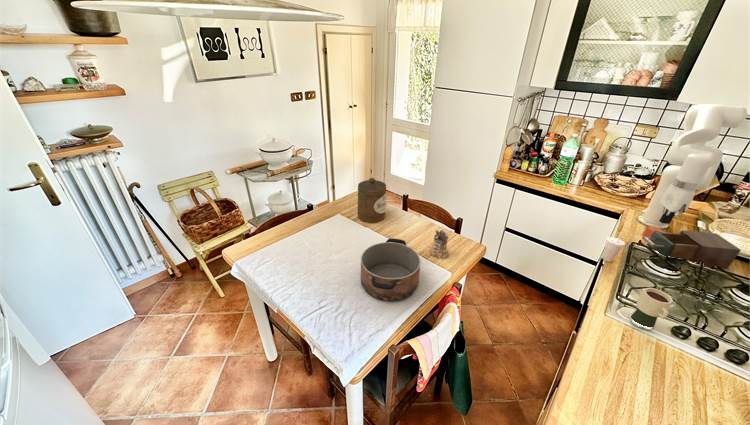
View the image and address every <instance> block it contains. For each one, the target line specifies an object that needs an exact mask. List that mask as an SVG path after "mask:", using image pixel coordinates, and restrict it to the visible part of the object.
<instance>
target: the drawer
mask: <svg viewBox="0 0 750 425" xmlns="http://www.w3.org/2000/svg"><path fill="white" fill-rule="evenodd" d="M641 238H642V240H644V242H646V245H647V246H648V248H650V247H651V248H652V249H654V250H657V251H658V252H659V253H660V254H662V255H664V256H666V257H667V258H668V256H670V257H678V258H683V259H687V260H690V261H691V260H692V259H693V257H694V256H695V254H696V253H697V251H698V250H699V248H700V246H699V245H697V244H696V243H695V242H693V241H692V240H691V239H689V238H688V237H687V236H685V235H684V234H679V233H675V232H665V231H663V232H662V233H660V232H659V231H657V230H654V232H653V234H652V236H651V238H649V237H646V236H643V235H642V236H641ZM651 248H650V249H651ZM652 249H651V250H652Z"/></svg>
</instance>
